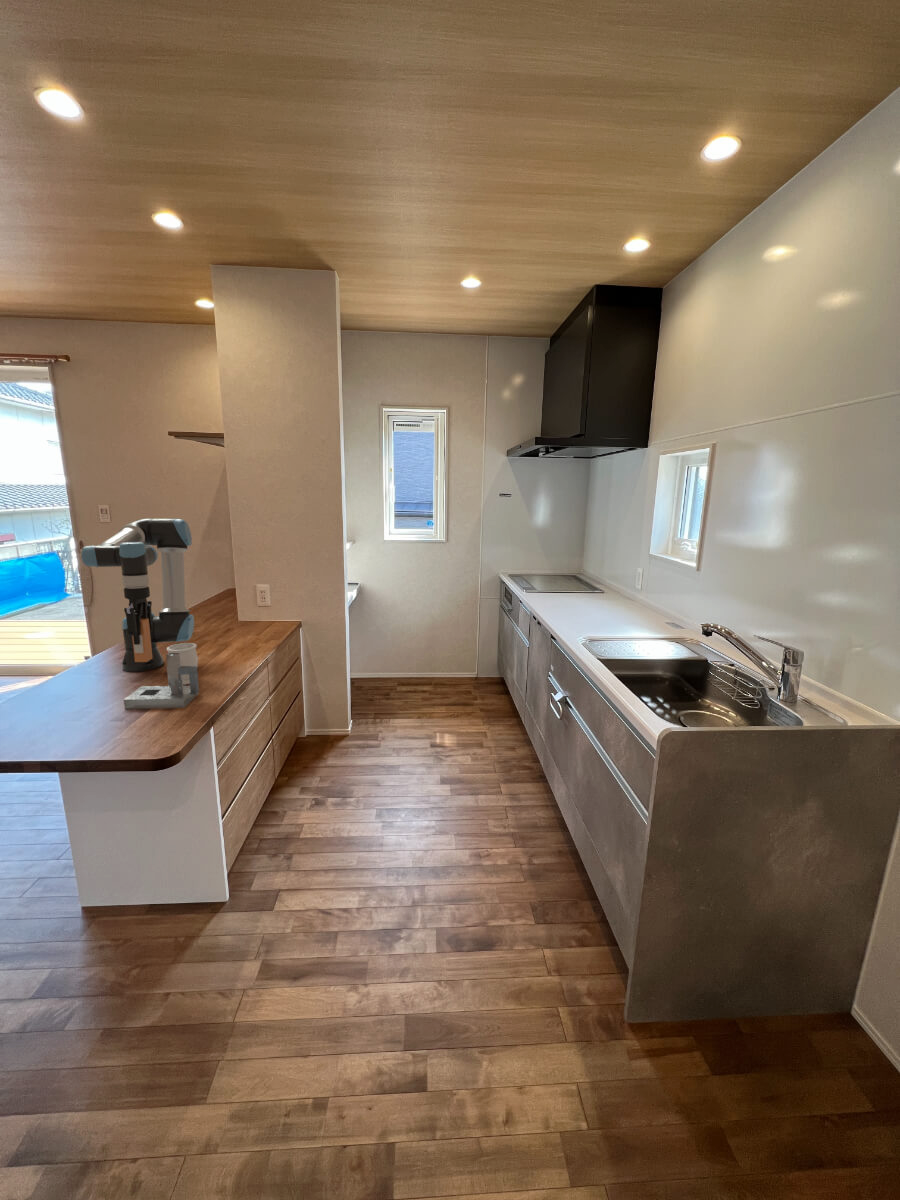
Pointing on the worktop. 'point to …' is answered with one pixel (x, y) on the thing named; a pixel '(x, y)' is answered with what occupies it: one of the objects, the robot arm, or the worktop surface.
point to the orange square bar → (144, 643)
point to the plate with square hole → (167, 688)
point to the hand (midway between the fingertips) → (143, 650)
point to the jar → (185, 656)
